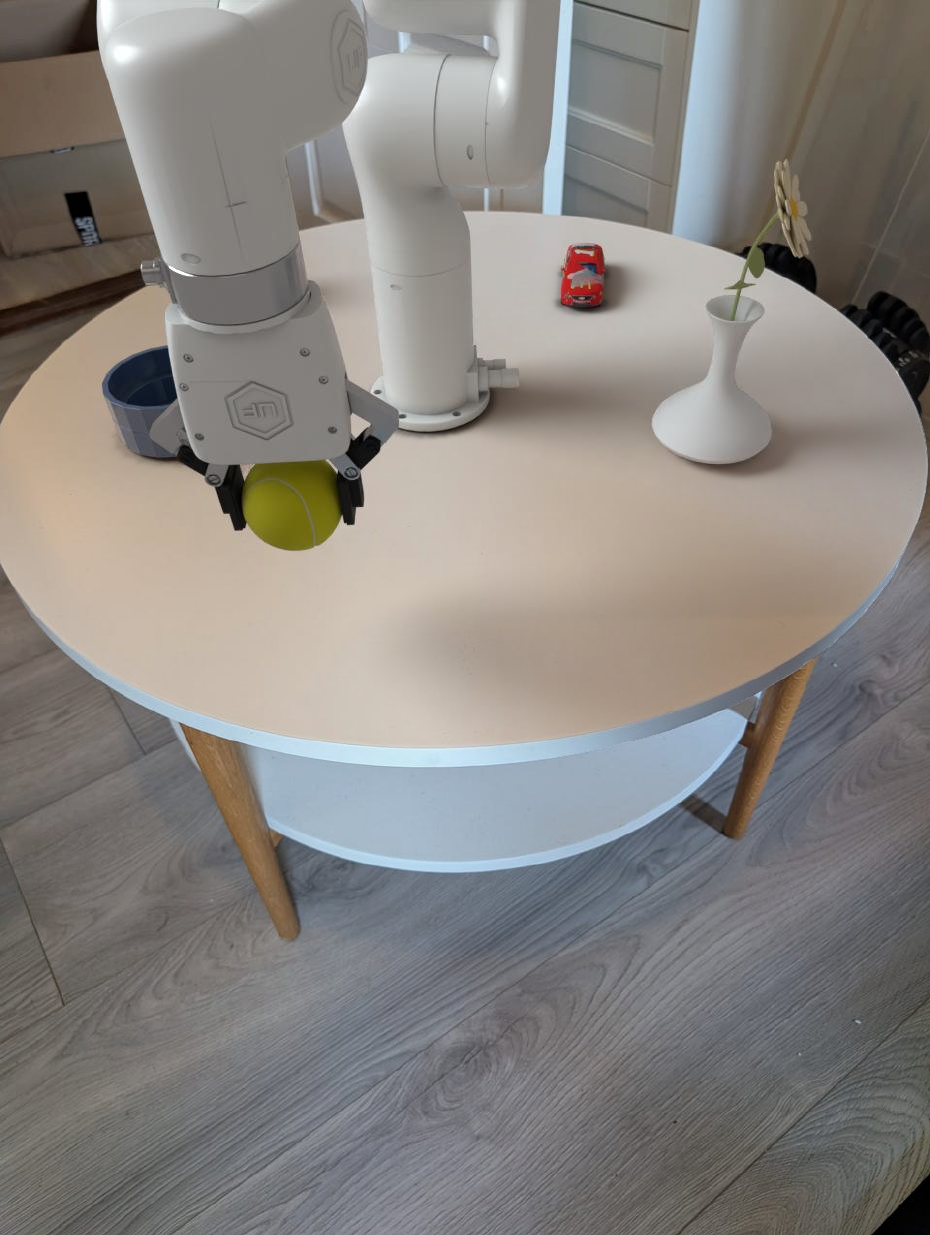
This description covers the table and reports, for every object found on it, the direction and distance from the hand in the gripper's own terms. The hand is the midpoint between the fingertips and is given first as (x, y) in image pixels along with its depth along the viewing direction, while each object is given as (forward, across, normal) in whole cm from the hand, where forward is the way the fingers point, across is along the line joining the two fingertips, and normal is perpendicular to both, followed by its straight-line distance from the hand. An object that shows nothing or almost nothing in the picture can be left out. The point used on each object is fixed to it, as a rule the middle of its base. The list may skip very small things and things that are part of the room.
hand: (296, 513), depth 62 cm
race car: (+13, +28, +56) cm, 64 cm away
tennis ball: (+2, 0, 0) cm, 2 cm away
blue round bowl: (+12, -17, +29) cm, 36 cm away
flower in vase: (+13, +37, +23) cm, 45 cm away
